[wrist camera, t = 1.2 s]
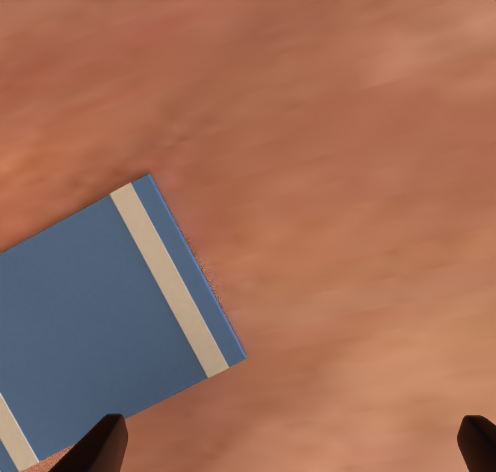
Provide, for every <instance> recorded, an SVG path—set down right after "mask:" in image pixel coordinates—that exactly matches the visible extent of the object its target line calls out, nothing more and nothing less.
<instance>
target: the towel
mask: <svg viewBox="0 0 496 472" xmlns="http://www.w3.org/2000/svg"><path fill="white" fill-rule="evenodd" d="M244 359H246V354H245V352H244V350H243V348H242V347H241V345H240V343H239V341H238V339H237V337H236V335H235V333H234V331H233V330H232V328H231V326H230V324H229V322H228V320H227V318H226V316H225V314H224V313H223V311H222V309H221V307H220V305H219V303H218V301H217V299H216V297H215V296H214V294H213V292H212V290H211V288H210V286H209V284H208V282H207V280H206V279H205V277H204V275H203V273H202V271H201V269H200V267H199V265H198V263H197V262H196V260H195V258H194V256H193V254H192V252H191V250H190V248H189V247H188V245H187V243H186V241H185V239H184V237H183V235H182V233H181V231H180V230H179V228H178V226H177V224H176V222H175V220H174V218H173V216H172V214H171V213H170V211H169V209H168V207H167V205H166V203H165V201H164V199H163V197H162V196H161V194H160V192H159V190H158V188H157V186H156V184H155V182H154V180H153V179H152V177H151V175H149V174H146V175H145V176H143V177H141V178H139V179H137V180H135V181H133V182H132V183H128V184H127V185H125V186H123V187H121V188H119V189H117V190H115V191H114V192H112V193H110V194H109V195H108V196H106V197H104V198H102V199H100V200H98V201H97V202H95V203H93V204H91V205H89V206H87V207H85V208H84V209H82V210H80V211H78V212H76V213H74V214H73V215H71V216H69V217H67V218H65V219H63V220H61V221H60V222H58V223H56V224H54V225H52V226H50V227H49V228H47V229H45V230H43V231H41V232H39V233H37V234H36V235H34V236H32V237H30V238H28V239H26V240H25V241H23V242H21V243H19V244H17V245H15V246H13V247H12V248H10V249H8V250H6V251H4V252H2V253H1V254H0V471H1V472H21V471H23V470H25V469H27V468H29V467H31V466H33V465H35V464H37V463H39V461H41V460H43V459H45V458H47V457H49V456H51V455H53V454H55V453H57V452H59V451H61V450H63V449H65V448H67V447H69V446H71V445H73V444H75V443H77V442H79V441H80V440H81V439H82V438H83V437H84V436H85V435H86V434H87V433H88V432H89V431H90V430H91V429H92V428H93V427H94V426H95V425H96V424H97V423H98V422H99V421H100V420H101V419H102V418H103V417H104V416H105V415H107V414H109V413H120V414H122V415H123V416H124V419H126V418H128V417H130V416H132V415H134V414H136V413H138V412H140V411H142V410H144V409H146V408H148V407H150V406H152V405H154V404H156V403H158V402H160V401H162V400H164V399H166V398H168V397H170V396H172V395H174V394H176V393H178V392H180V391H182V390H184V389H186V388H188V387H190V386H192V385H194V384H196V383H198V382H200V381H202V380H204V379H206V378H210V377H212V376H214V375H216V374H218V373H220V372H222V371H224V370H226V369H228V368H229V367H230V366H232V365H234V364H236V363H238V362H240V361H242V360H244Z"/></svg>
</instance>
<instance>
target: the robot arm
mask: <svg viewBox="0 0 496 472" xmlns="http://www.w3.org/2000/svg"><path fill="white" fill-rule="evenodd" d="M127 442H128V432H127V428H126V424H125V420H124V416H123V415H122V414H120V413H109V414H107V415H105V416H104V417H103V418H102V419H101V420H100V421H99V422H98V423H97V424H96V425H95V426H94V427H93V428H92V429H91V430H90V431H89V432H88V433H87V434H86V435H85V436H84V437H83V438H82V439H81V440H80V441H79V442H78V443H77V444H76V445H75V446H74V447H73V448H72V449H71V450H70V451H69V452H68V453H67V454H65V455H64V456H63V457H62V458H61V459H60V460H59V461H58V462H57V463H56V464H55V465H54V466H53V467H52V468H51V469H50V470H49V471H48V472H120V469H121V465H122V462H123V458H124V454H125V450H126V447H127ZM457 442H458V446H459V449H460V451H461V453H462V456H463V458H464V460H465V463H466V465H467V467H468V470H469V472H496V425H495V424H493V423H492V422H491V421H489V420H488V419H486V418H485V417H483V416H480V415H466V416H464V418H463V420H462V423H461V426H460V429H459V432H458V435H457Z"/></svg>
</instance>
